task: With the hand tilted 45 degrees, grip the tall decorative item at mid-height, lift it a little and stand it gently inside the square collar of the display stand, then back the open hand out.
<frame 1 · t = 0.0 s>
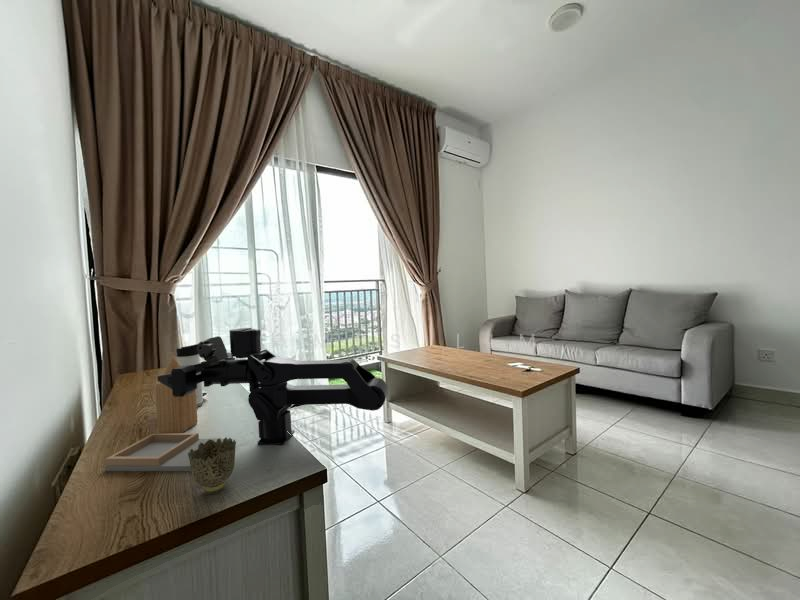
hand: (173, 373, 80), 17 cm above the table, tool horizontal, fingers open, 9 cm apart
travel mug: (192, 407, 104), on the table
decorative item: (178, 429, 87), on the table
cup: (215, 491, 59), on the table
display stand: (173, 455, 72), on the table
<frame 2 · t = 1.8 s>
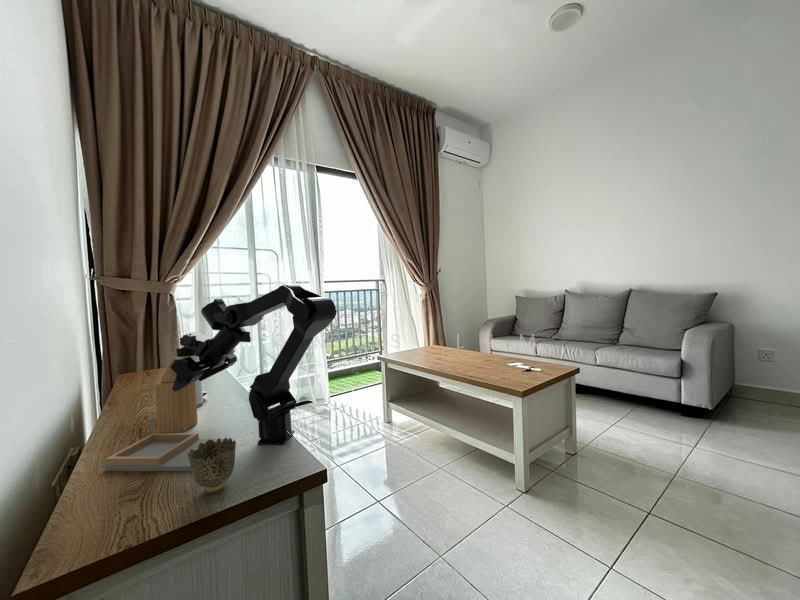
hand: (187, 384, 86), 12 cm above the table, tool tilted 45°, fingers open, 9 cm apart
nothing on the table moved.
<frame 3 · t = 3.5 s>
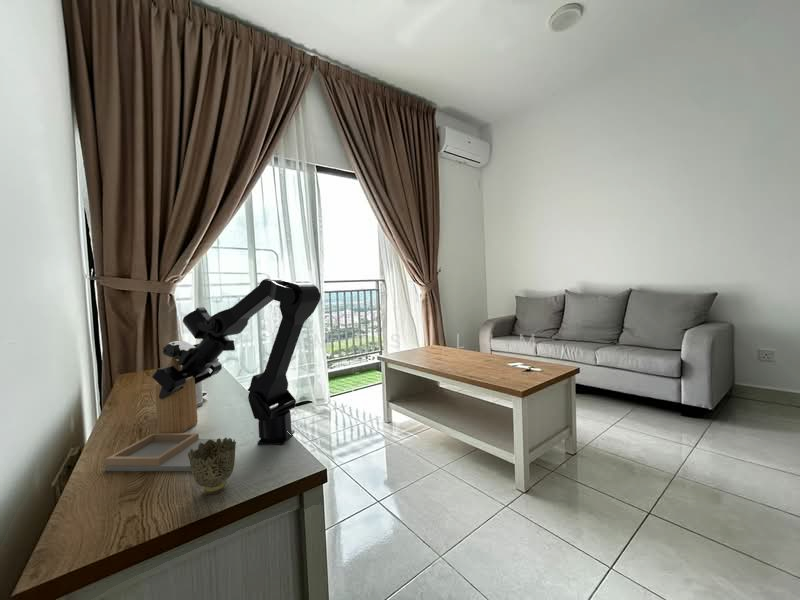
hand: (171, 393, 87), 10 cm above the table, tool tilted 45°, fingers closed on decorative item, 7 cm apart
decorative item: (178, 429, 87), on the table, touching gripper
everything else where it was.
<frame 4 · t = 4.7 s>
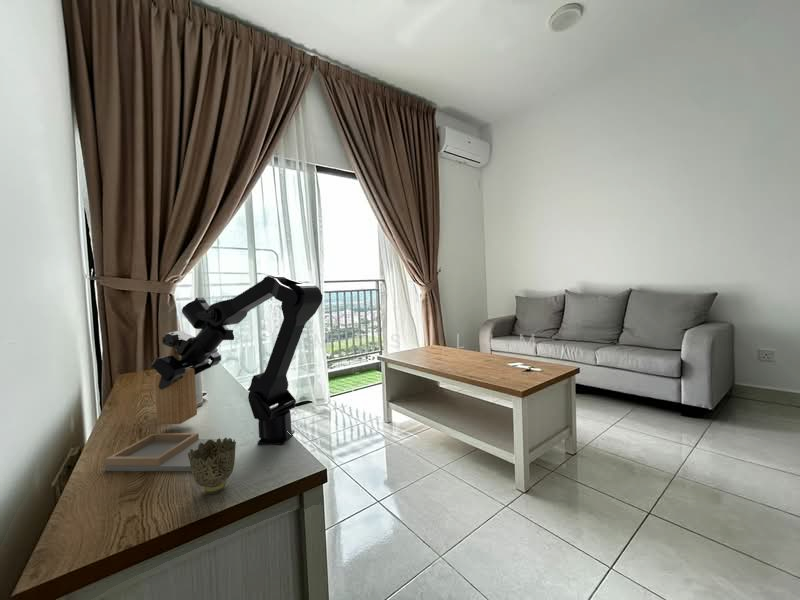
hand: (170, 384, 86), 12 cm above the table, tool tilted 45°, fingers closed on decorative item, 7 cm apart
decorative item: (178, 420, 87), point 2 cm above the table, touching gripper
everything else where it was.
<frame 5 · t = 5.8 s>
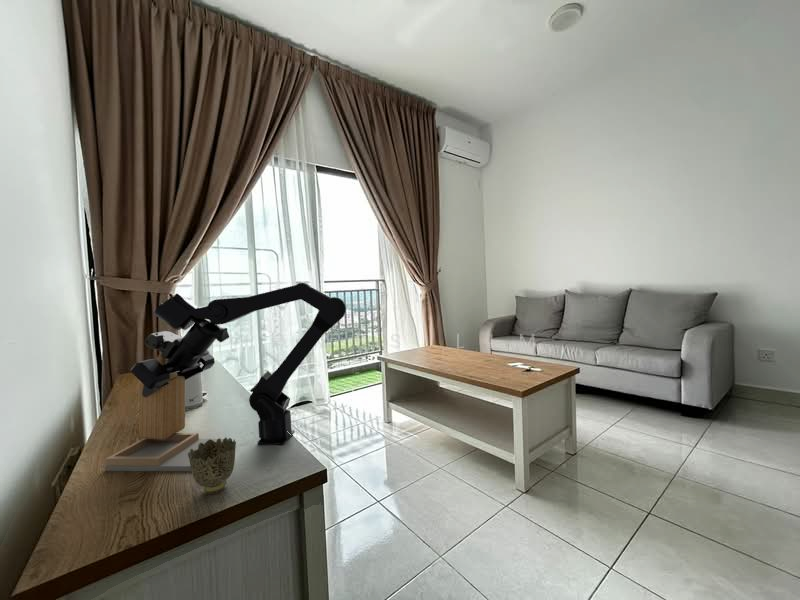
hand: (157, 390, 77), 13 cm above the table, tool tilted 45°, fingers closed on decorative item, 7 cm apart
decorative item: (162, 434, 77), point 3 cm above the table, touching gripper
everything else where it was.
when the fingers open (12 cm above the table, at t = 7.5 s): decorative item stays where it is, resting on display stand.
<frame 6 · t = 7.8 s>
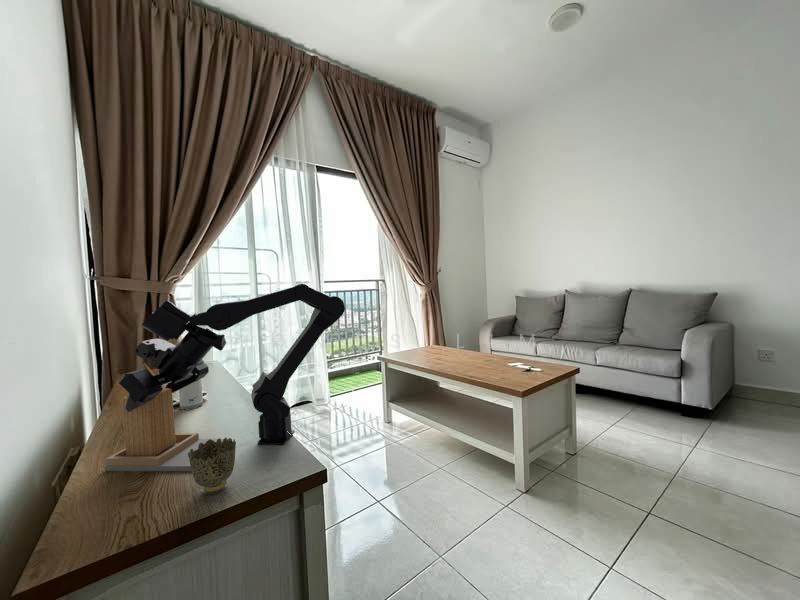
hand: (146, 402, 72), 12 cm above the table, tool tilted 45°, fingers open, 9 cm apart
decorative item: (152, 451, 73), point 1 cm above the table, touching display stand
everything else where it was.
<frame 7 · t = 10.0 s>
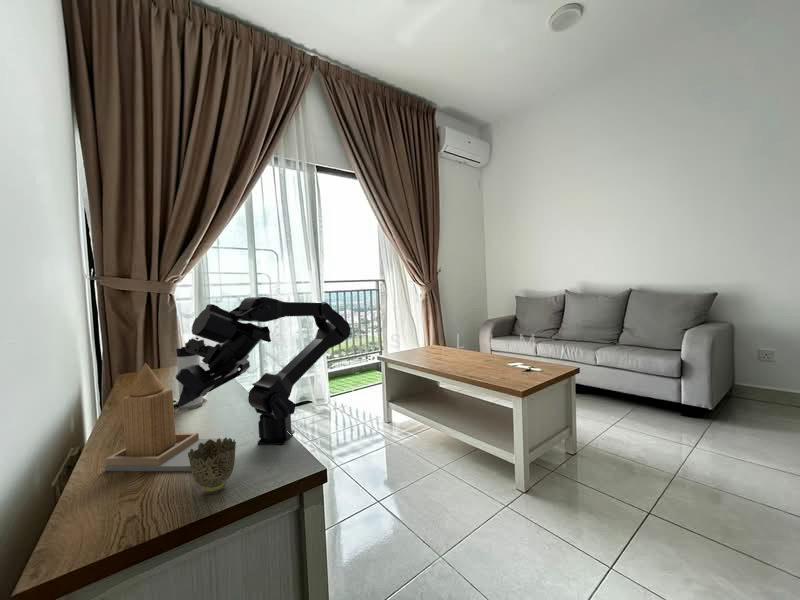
hand: (194, 397, 74), 12 cm above the table, tool tilted 45°, fingers open, 9 cm apart
nothing on the table moved.
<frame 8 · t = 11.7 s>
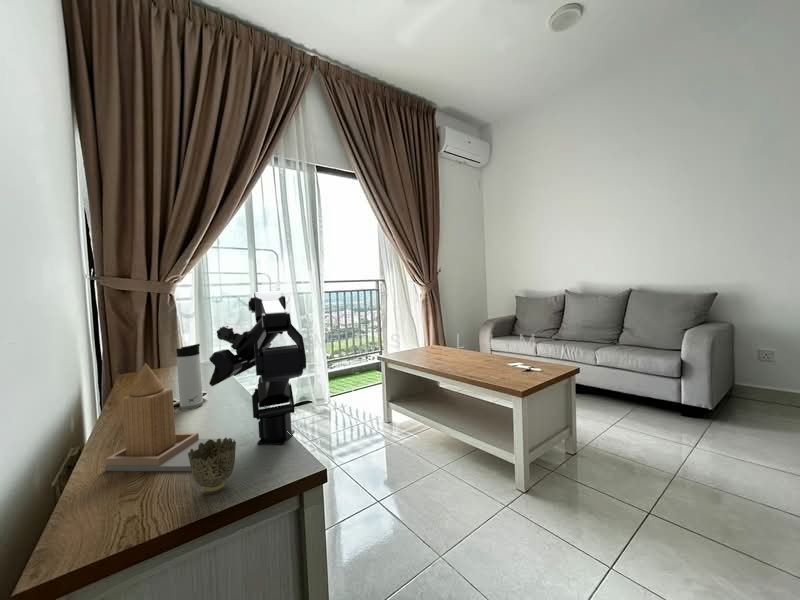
hand: (222, 379, 83), 14 cm above the table, tool tilted 45°, fingers open, 9 cm apart
nothing on the table moved.
at the end: decorative item 1.0 cm from the target spot on the display stand, point 0.8 cm above the display stand's base; decorative item tilted 0°; the gripper is holding nothing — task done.
